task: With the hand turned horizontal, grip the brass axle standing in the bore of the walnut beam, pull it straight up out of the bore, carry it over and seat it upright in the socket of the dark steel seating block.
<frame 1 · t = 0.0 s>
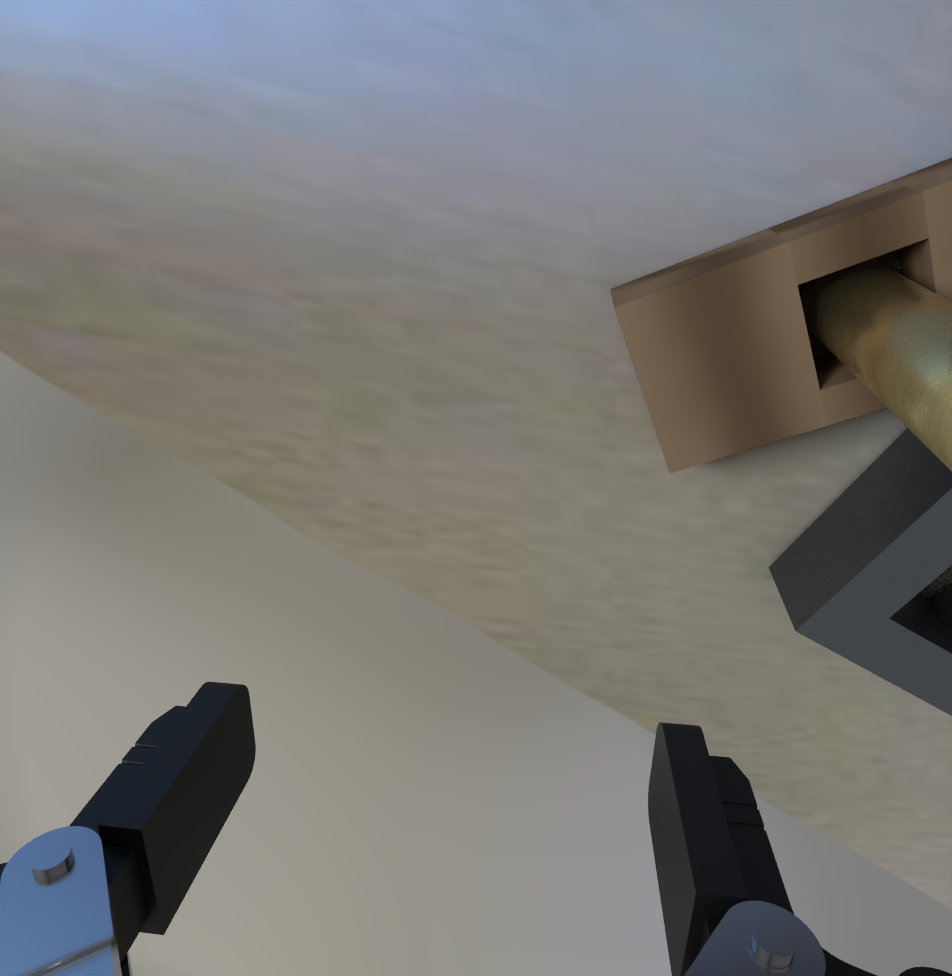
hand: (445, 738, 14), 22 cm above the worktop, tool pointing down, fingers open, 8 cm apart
seat block: (932, 541, 35), on the worktop
beam: (844, 298, 30), on the worktop
axle: (928, 361, 23), in the beam
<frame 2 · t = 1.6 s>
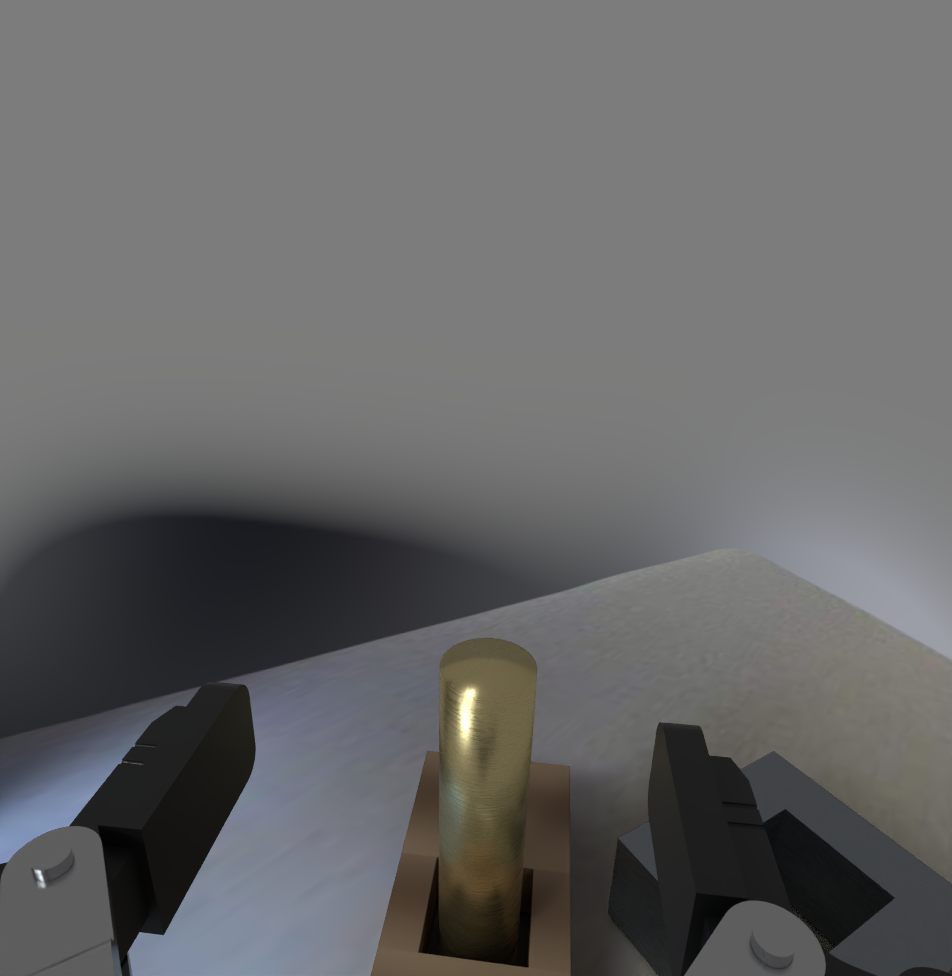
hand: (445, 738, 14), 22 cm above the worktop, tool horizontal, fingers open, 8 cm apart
seat block: (777, 953, 33), on the worktop
beam: (477, 953, 32), on the worktop
axle: (482, 825, 29), in the beam
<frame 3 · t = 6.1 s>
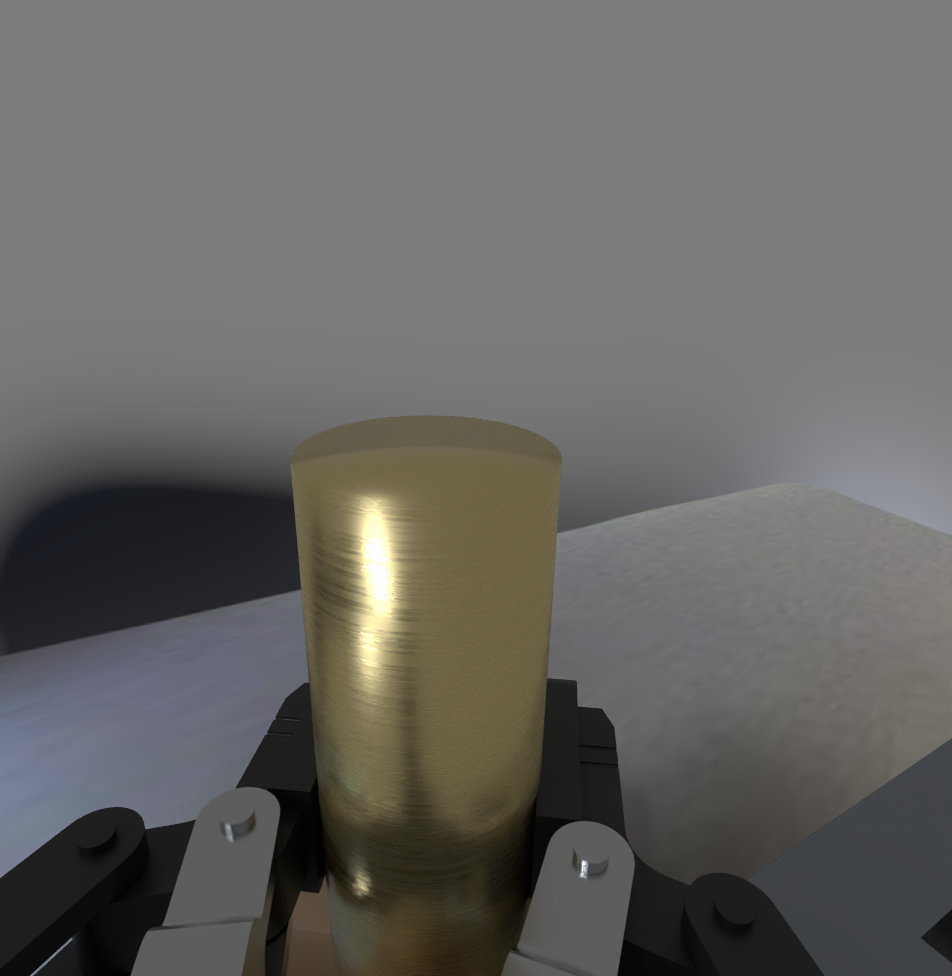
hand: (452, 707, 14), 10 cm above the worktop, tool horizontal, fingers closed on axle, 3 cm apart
axle: (431, 880, 12), in the beam, touching gripper
when the fingers open (11 cm above the worktop, at t = 13.6 s): axle drops 1 cm, resting in seat block.
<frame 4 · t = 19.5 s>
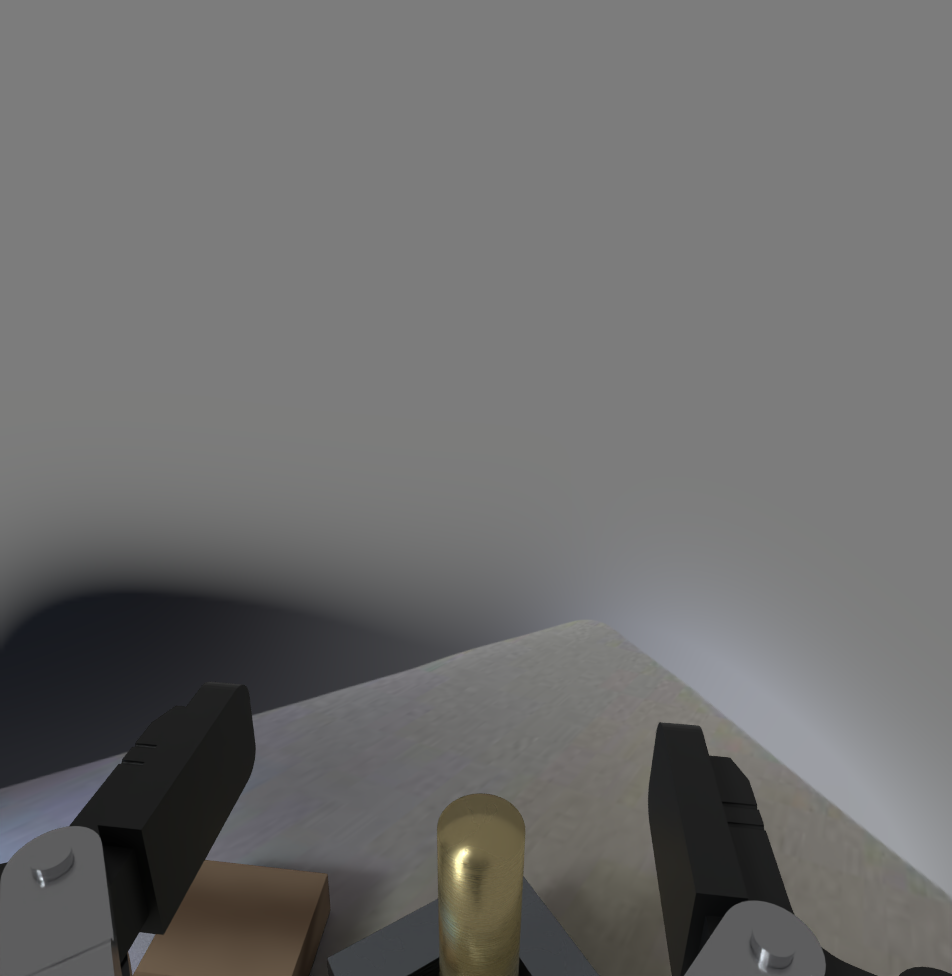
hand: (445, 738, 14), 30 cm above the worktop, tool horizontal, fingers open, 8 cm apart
axle: (479, 958, 32), in the seat block
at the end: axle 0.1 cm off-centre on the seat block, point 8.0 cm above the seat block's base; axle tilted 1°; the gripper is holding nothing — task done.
